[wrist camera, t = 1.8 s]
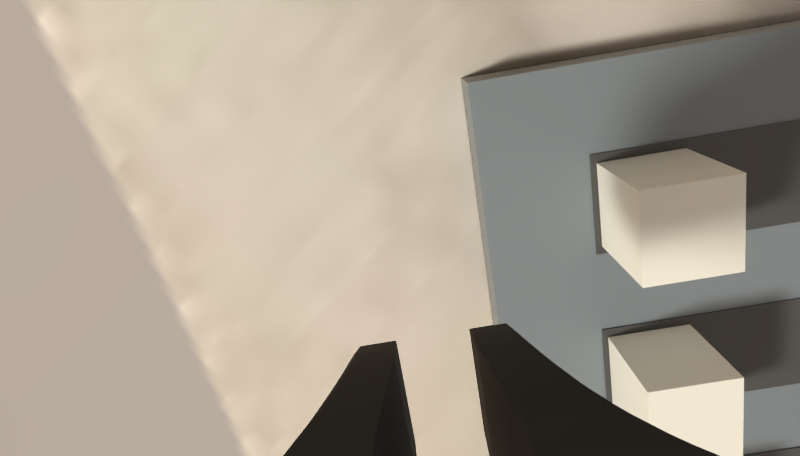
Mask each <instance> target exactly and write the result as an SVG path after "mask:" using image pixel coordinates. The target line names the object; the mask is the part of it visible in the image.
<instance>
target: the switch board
mask: <svg viewBox="0 0 800 456" xmlns="http://www.w3.org/2000/svg"><path fill="white" fill-rule="evenodd" d="M461 82H462V89H463V97H464V104H465V112H466V120H467V127H468V135H469V143H470V150H471V158H472V165H473V173H474V181H475V188H476V196H477V204H478V211H479V219H480V226H481V234H482V242H483V249H484V257H485V264H486V272H487V280H488V287H489V295H490V303H491V310H492V318H493V325H498V324H504V323H506V324H508V325H509V326H510V327H512V328H513V329H514V330H515V331H516V332H518V333H519V334H520V335H521V336H522V337H523V338H525V339H526V340H527V341H528V342H529V343H530V344H532V345H533V346H534V347H535V348H536V349H537V350H539V351H540V352H541V353H542V354H544V355H545V356H546V357H547V358H549V359H550V360H551V361H552V362H554V363H555V364H556V365H557V366H559V367H560V368H562V369H563V370H564V371H566V372H567V373H568V374H570V375H571V376H572V377H574V378H575V379H576V380H578V381H579V382H580V383H582V384H583V385H585V386H586V387H588V388H589V389H591V390H592V391H594V392H596V393H597V394H599V395H600V396H602V397H604V398H605V399H607V400H608V401H610V402H611V403H612V388H611V373H610V358H609V343H608V337H613V336H619V335H625V334H631V333H638V332H644V331H650V330H657V329H663V328H669V327H676V326H682V325H688V324H690V325H691V326H692V327H693V328H694V329H695V330H696V331H697V332H698V333H699V334H700V335H701V336H702V337H703V338H704V339H705V340H706V341H707V342H708V343H709V344H710V345H711V346H712V347H713V348H714V349H715V350H716V351H718V352H719V353H720V354H721V355H722V356H723V357H724V358H725V359H726V360H727V361H728V362H729V363H730V364H731V365H732V366H733V367H734V368H735V369H736V370H737V371H738V372H739V373H740V374H741V375H742V376H743V377H744V421H743V456H800V20H796V21H791V22H785V23H779V24H773V25H767V26H761V27H756V28H750V29H744V30H738V31H732V32H727V33H721V34H715V35H709V36H703V37H697V38H692V39H686V40H680V41H674V42H668V43H662V44H657V45H651V46H645V47H639V48H633V49H627V50H622V51H616V52H610V53H604V54H598V55H592V56H587V57H581V58H575V59H569V60H563V61H557V62H552V63H546V64H540V65H534V66H528V67H522V68H517V69H511V70H505V71H499V72H493V73H488V74H482V75H476V76H470V77H464V78H461ZM684 148H687V149H690V150H692V151H695V152H697V153H699V154H702V155H704V156H707V157H709V158H712V159H714V160H716V161H719V162H721V163H724V164H726V165H728V166H731V167H733V168H736V169H738V170H740V171H743V172H745V173H746V247H745V272H740V273H734V274H728V275H722V276H716V277H709V278H703V279H697V280H691V281H684V282H678V283H672V284H666V285H660V286H653V287H647V288H642V287H641V286H640V285H639V284H638V283H637V282H636V281H635V280H634V278H633V277H632V276H631V275H630V274H629V273H628V272H627V271H626V270H625V269H624V268H623V267H622V266H621V265H620V264H619V263H618V262H617V261H616V260H615V259H614V258H613V257H612V256H611V255H610V254H609V253H608V252H607V251H606V250H605V249H604V248H603V247H602V238H601V223H600V208H599V193H598V177H597V163H600V162H606V161H612V160H618V159H624V158H630V157H636V156H642V155H648V154H654V153H660V152H666V151H672V150H678V149H684Z"/></svg>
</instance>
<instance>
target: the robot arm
mask: <svg viewBox="0 0 800 456" xmlns="http://www.w3.org/2000/svg"><path fill="white" fill-rule="evenodd" d="M470 336H471V342H472V349H473V356H474V363H475V370H476V377H477V384H478V391H479V398H480V404H481V411H482V418H483V425H484V432H485V437H486V441H487V446H488V450H489V455H490V456H719V455H717V454H715V453H712V452H710V451H707V450H705V449H702V448H700V447H697V446H695V445H693V444H691V443H688V442H686V441H684V440H682V439H680V438H677V437H675V436H673V435H671V434H669V433H667V432H665V431H663V430H661V429H659V428H657V427H655V426H653V425H651V424H650V423H648V422H646V421H644V420H642V419H640V418H638V417H636V416H634V415H632V414H630V413H629V412H627V411H625V410H623V409H622V408H620V407H618V406H616V405H615V404H613V403H611V402H610V401H608V400H607V399H605V398H604V397H602V396H600V395H599V394H597V393H596V392H594V391H592V390H591V389H589V388H588V387H586V386H585V385H583V384H582V383H580V382H579V381H578V380H576V379H575V378H574V377H572V376H571V375H570V374H568V373H567V372H566V371H564V370H563V369H562V368H560V367H559V366H557V365H556V364H555V363H554V362H552V361H551V360H550V359H549V358H547V357H546V356H545V355H544V354H542V353H541V352H540V351H539V350H537V349H536V348H535V347H534V346H533V345H532V344H530V343H529V342H528V341H527V340H526V339H525V338H523V337H522V336H521V335H520V334H519V333H518V332H516V331H515V330H514V329H513V328H512V327H510V326H509V325H508V324H506V323H504V324H498V325H491V326H485V327H479V328H473V329H470ZM283 456H417V455H416V446H415V439H414V434H413V429H412V423H411V418H410V413H409V407H408V402H407V397H406V391H405V386H404V381H403V376H402V370H401V365H400V360H399V354H398V349H397V344H396V341H392V342H385V343H379V344H373V345H367V346H360V348H359V349H358V350H357V352H356V353H355V354H354V356H353V357H352V359H351V361H350V362H349V364H348V366H347V367H346V369H345V371H344V372H343V374H342V375H341V377H340V379H339V380H338V382H337V383H336V385H335V386H334V388H333V389H332V391H331V392H330V394H329V395H328V397H327V398H326V400H325V401H324V403H323V404H322V406H321V407H320V408H319V410H318V411H317V413H316V414H315V416H314V417H313V418H312V420H311V421H310V423H309V424H308V425H307V426H306V428H305V429H304V430H303V432H302V433H301V434H300V435H299V437H298V438H297V439H296V440H295V442H294V443H293V444H292V445H291V447H290V448H289V449H288V451H287V452H286V453H285V454H284V455H283Z"/></svg>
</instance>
